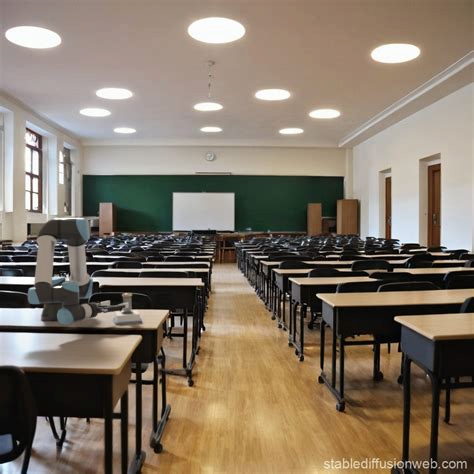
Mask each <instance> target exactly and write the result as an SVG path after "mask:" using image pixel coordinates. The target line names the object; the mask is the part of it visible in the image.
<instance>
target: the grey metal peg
mask: <svg viewBox="0 0 474 474" xmlns="http://www.w3.org/2000/svg"><path fill="white" fill-rule="evenodd" d="M121 296H122V304H123V303H127V302H128V303H129V308H125V309H122V311H123V314H132V296H133V293H131V292H127V293H126V292H125V293H122V294H121Z"/></svg>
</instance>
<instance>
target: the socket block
mask: <svg viewBox="0 0 474 474" xmlns="http://www.w3.org/2000/svg"><path fill="white" fill-rule="evenodd" d="M114 312H115V313H114V315H115V317H113V322H114V324H115V326H118V325H120V326H121V325H129V324H132V325H133V324H142V323H143V320H142V318H141V314H140V312H139V311H138V309H134V310H132V314H123V310H122V311H114Z"/></svg>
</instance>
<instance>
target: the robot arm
mask: <svg viewBox="0 0 474 474" xmlns="http://www.w3.org/2000/svg"><path fill="white" fill-rule="evenodd" d="M90 237H91V233H90V225H89V221H88V220H87V219H86V218H85V217H55V218H51V219H49V220H47V221H46V222H45V223H44V224H43V225H42V226H41V228H40V229H39V230H38V233H37V236H36V243H37V245H38V246H37V255H36V256H37V257H36V265H35V274H34V276H35V277H34V281H33V283H34V285H33V286H32V287H30V288H28V291H27V300H28V303H29V304H30V305H31V304H32V305H41V304H43V309H42V312H41V315H40V320H41V319H42V320H41V321H44V320H46V321H48V322H52V321H53V320H55V321H58V322H59V323H60V324H62V325H69V324H73V323H77V322H81V321H82V322H84V321H85V320H88V319H93V318H95V317H97V316H98V314H102V313H103V314H107V313H112V312H119V311H123V309H125V308H129V303H128V302H127V303H123V302H122V303H119V304H116V305H114V304H113V305H111V300H105V301H97V300H96V302H94V301H93V302H88V303H81V304H80V300H81V299H89V298H91V297H92V293H93V283H94V279H93V278H92V277H90V274H89V273H88V272H87V270H88V269H87V258H86V243H88V240H90ZM58 241H63V242H64V244H65V245H66V246H67V250H68V262H69V271H70V276H69V277H68V278H66V276H57V277H53V269H54V258H55V247H56V245H57V243H58Z"/></svg>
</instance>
